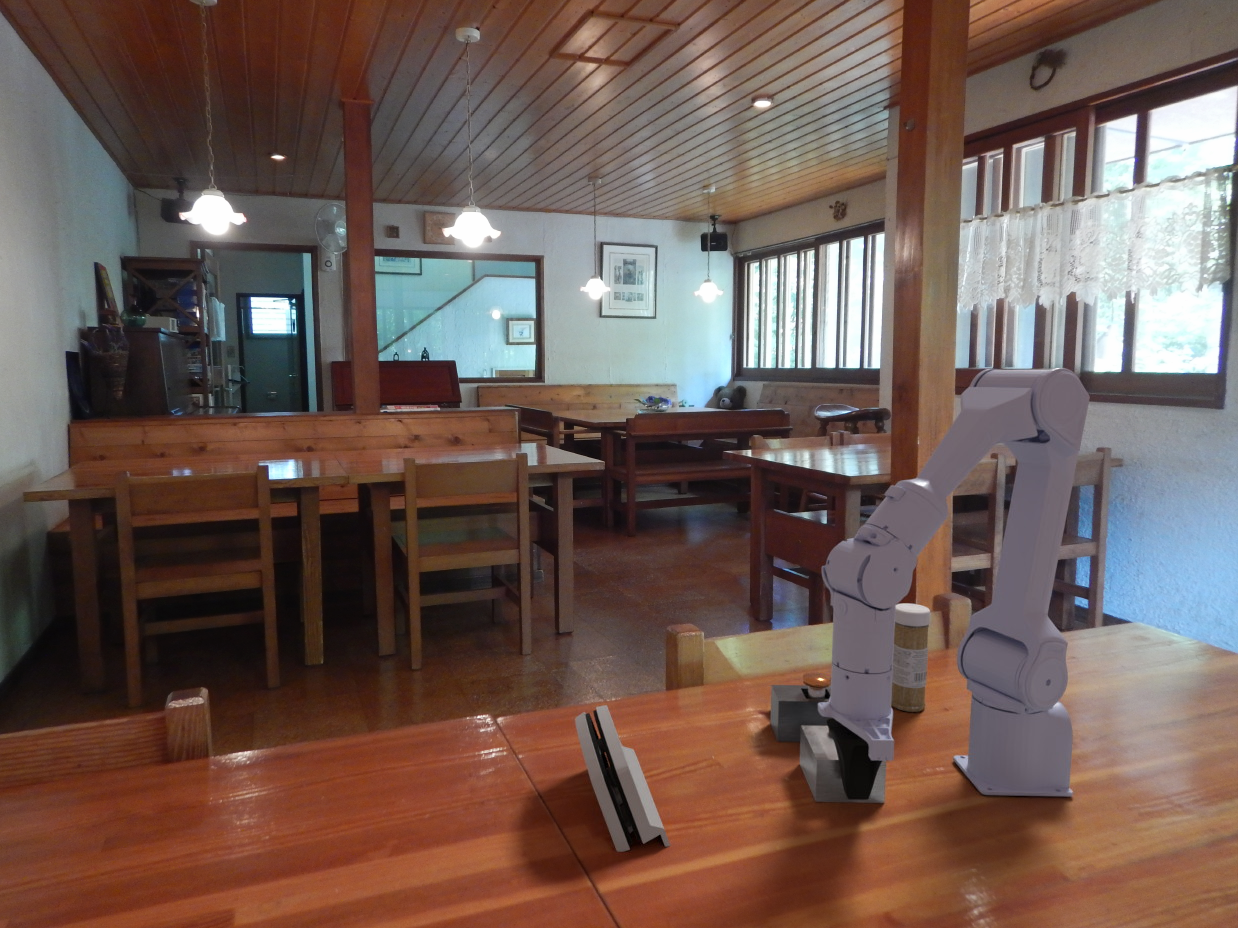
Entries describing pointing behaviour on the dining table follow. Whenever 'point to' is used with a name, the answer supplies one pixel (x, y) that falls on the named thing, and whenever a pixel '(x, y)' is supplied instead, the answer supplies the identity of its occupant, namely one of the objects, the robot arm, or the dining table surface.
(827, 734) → the block
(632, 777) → the grey slotted block
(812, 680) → the pin
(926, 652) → the sprinkles bottle
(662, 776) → the dining table surface
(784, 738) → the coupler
